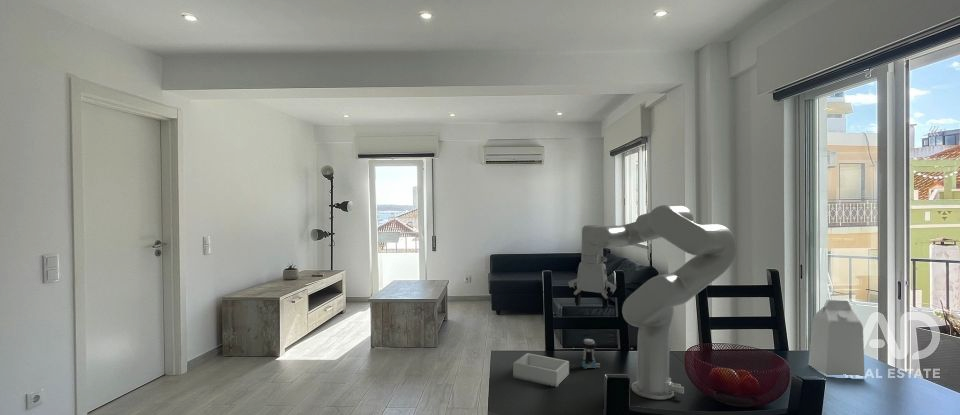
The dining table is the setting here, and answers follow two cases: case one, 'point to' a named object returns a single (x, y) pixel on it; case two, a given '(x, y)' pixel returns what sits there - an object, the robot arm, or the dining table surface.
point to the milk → (837, 340)
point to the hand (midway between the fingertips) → (591, 307)
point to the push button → (589, 353)
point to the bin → (541, 369)
